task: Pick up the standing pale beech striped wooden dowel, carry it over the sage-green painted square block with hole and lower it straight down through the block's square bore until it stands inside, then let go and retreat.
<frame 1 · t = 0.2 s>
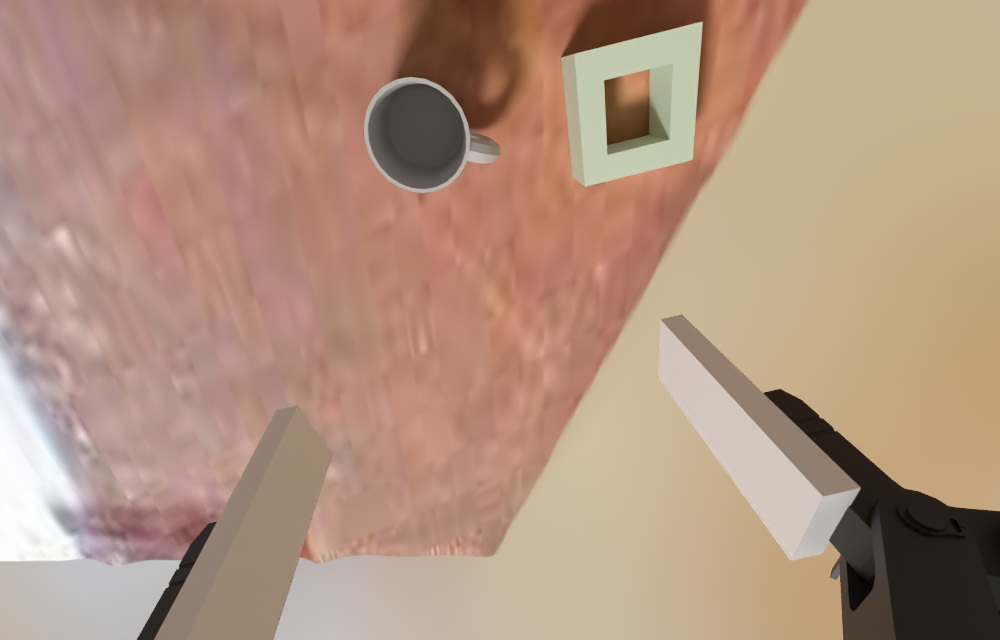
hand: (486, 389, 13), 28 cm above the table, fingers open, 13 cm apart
square block with hole: (619, 109, 34), on the table
cup: (440, 131, 33), on the table
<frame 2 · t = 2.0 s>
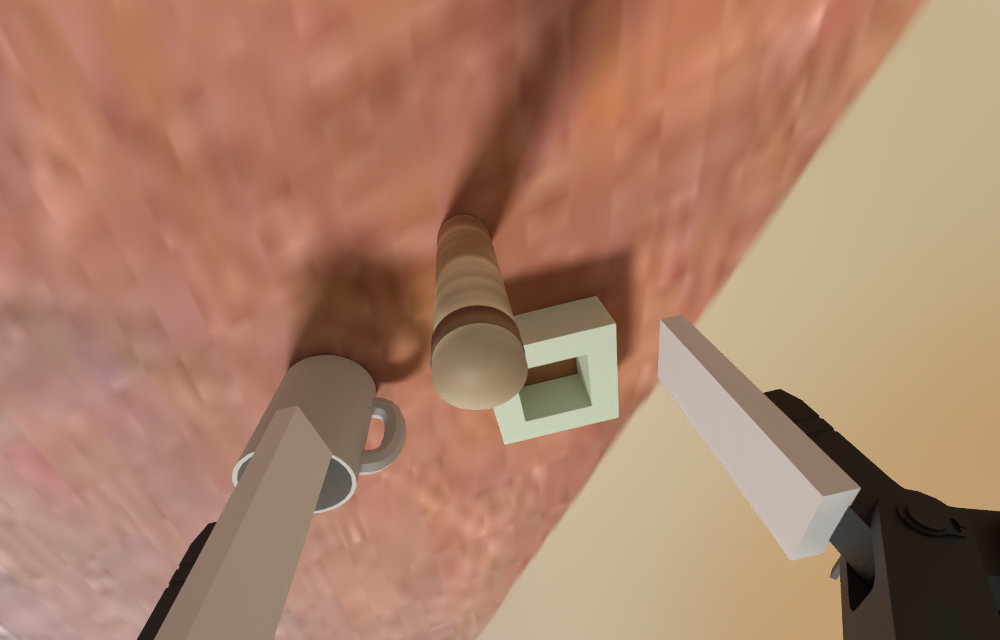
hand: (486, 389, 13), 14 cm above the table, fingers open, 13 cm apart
striped wooden dowel: (463, 240, 25), on the table
square block with hole: (543, 357, 32), on the table
cup: (350, 385, 31), on the table
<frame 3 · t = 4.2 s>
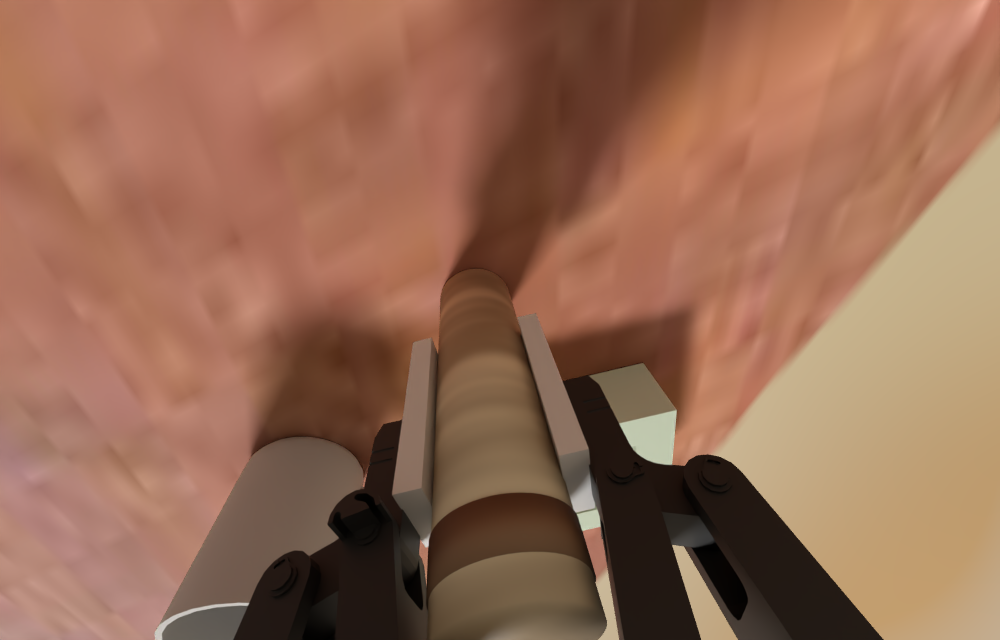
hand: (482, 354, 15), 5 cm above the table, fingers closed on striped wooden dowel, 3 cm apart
striped wooden dowel: (475, 300, 19), on the table, touching gripper
square block with hole: (572, 433, 26), on the table
cup: (332, 469, 25), on the table
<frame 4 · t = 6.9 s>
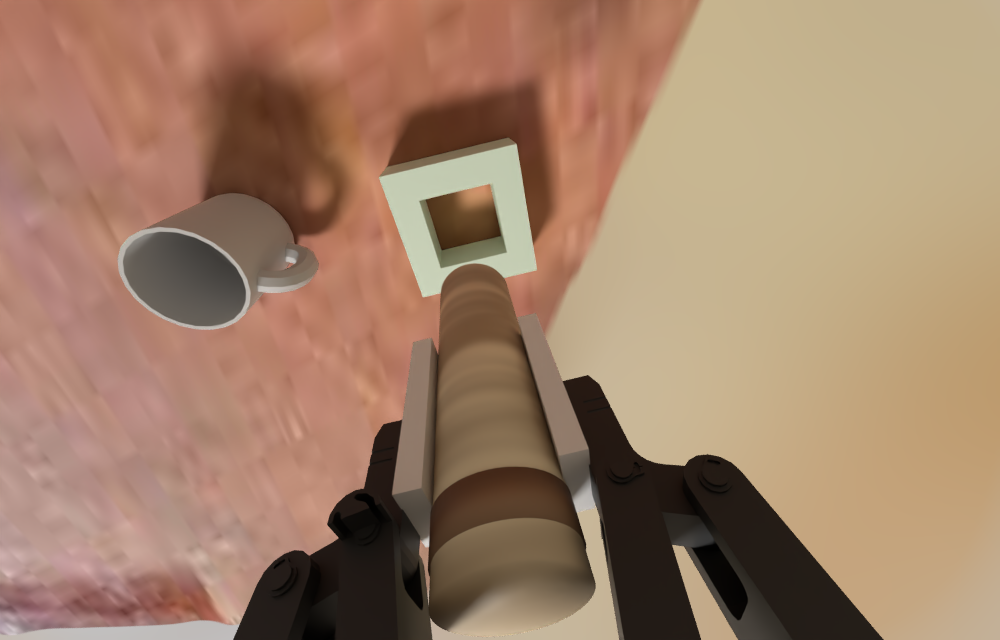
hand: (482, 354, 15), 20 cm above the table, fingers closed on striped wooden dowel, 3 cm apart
striped wooden dowel: (474, 294, 20), point 15 cm above the table, touching gripper
square block with hole: (463, 213, 32), on the table
cup: (269, 237, 31), on the table
when the fingers open (6 cm above the table, at t = 10.0 s): striped wooden dowel stays where it is, resting in square block with hole.
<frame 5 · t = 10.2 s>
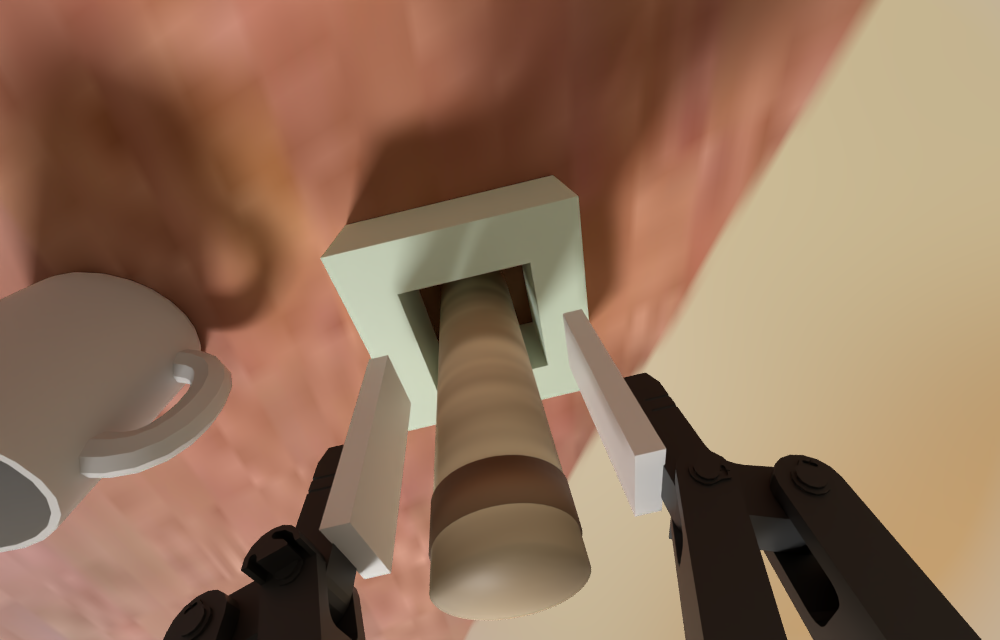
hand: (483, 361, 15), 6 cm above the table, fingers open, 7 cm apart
striped wooden dowel: (474, 292, 20), resting in square block with hole
square block with hole: (474, 291, 20), on the table
cup: (159, 334, 19), on the table
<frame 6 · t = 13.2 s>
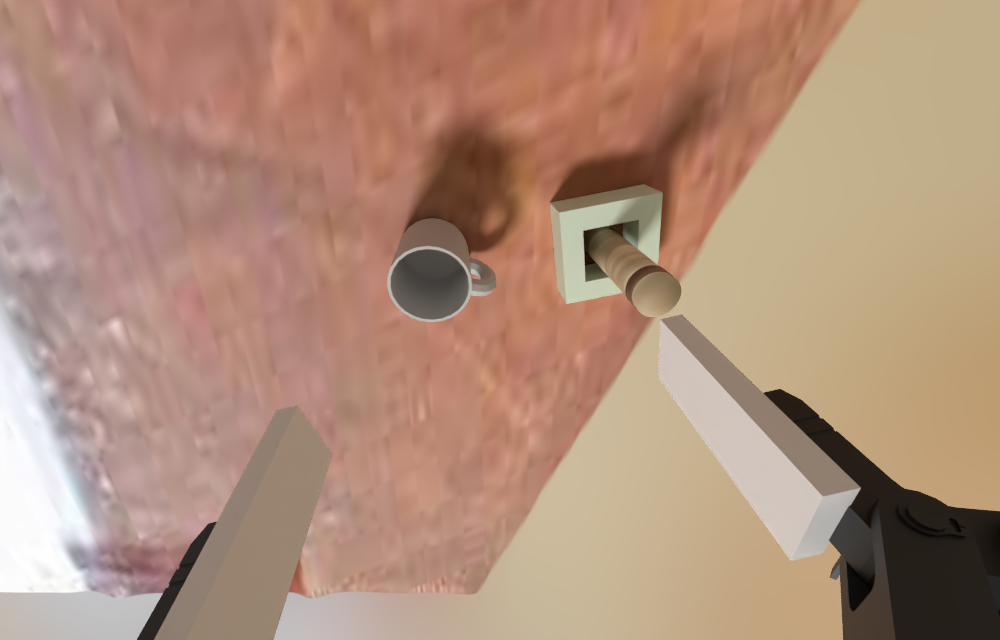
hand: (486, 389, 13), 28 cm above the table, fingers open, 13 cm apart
striped wooden dowel: (598, 239, 41), resting in square block with hole
square block with hole: (597, 239, 41), on the table
cup: (447, 252, 40), on the table
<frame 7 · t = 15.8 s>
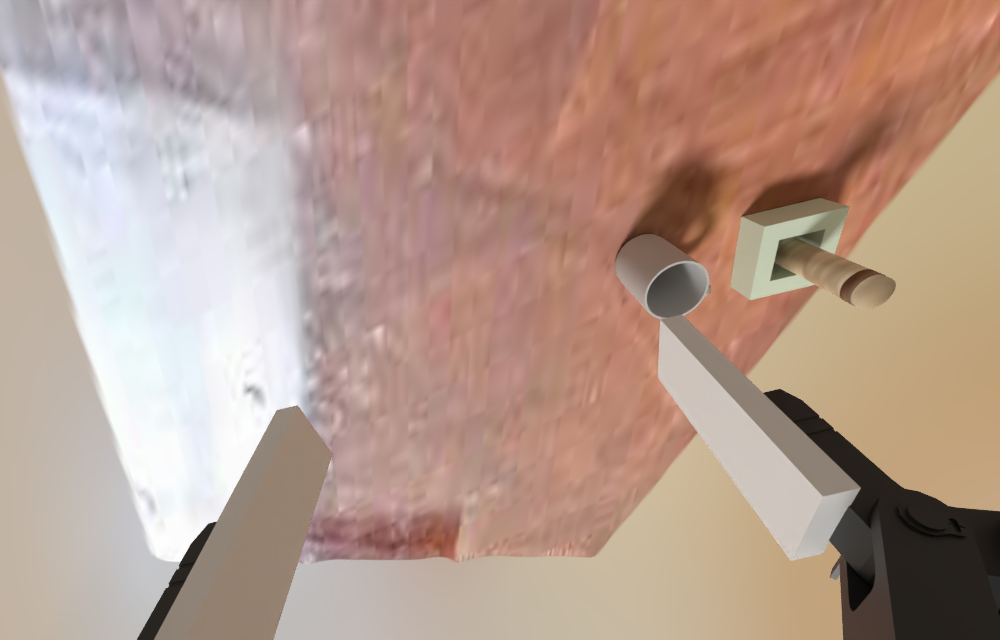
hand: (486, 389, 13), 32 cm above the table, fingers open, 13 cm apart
striped wooden dowel: (772, 244, 48), resting in square block with hole
square block with hole: (772, 244, 48), on the table
cup: (649, 261, 48), on the table
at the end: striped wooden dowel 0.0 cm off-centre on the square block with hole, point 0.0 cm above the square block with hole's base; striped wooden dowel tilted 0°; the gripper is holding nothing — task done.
